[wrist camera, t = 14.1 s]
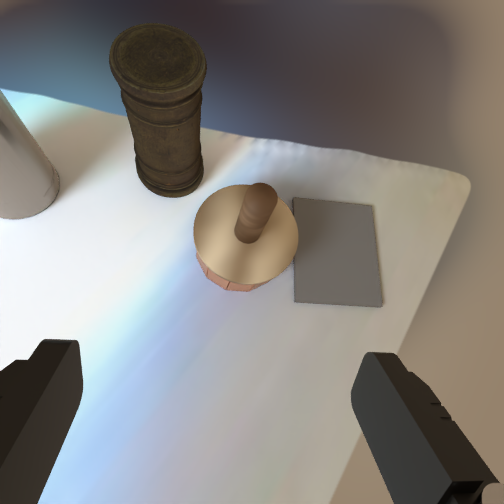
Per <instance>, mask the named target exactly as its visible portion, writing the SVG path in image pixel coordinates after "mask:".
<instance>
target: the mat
mask: <svg viewBox="0 0 504 504" xmlns="http://www.w3.org/2000/svg"><path fill="white" fill-rule="evenodd" d="M293 216H294V218H295V221H296V224H297V228H298V246H297V250H296V253H295V256H294V299H295V302H299V303H316V304H332V305H349V306H365V307H383V306H382V297H381V287H380V278H379V269H378V259H377V250H376V241H375V231H374V222H373V213H372V206H367V205H358V204H349V203H341V202H332V201H323V200H314V199H305V198H296V197H294V198H293Z"/></svg>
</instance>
